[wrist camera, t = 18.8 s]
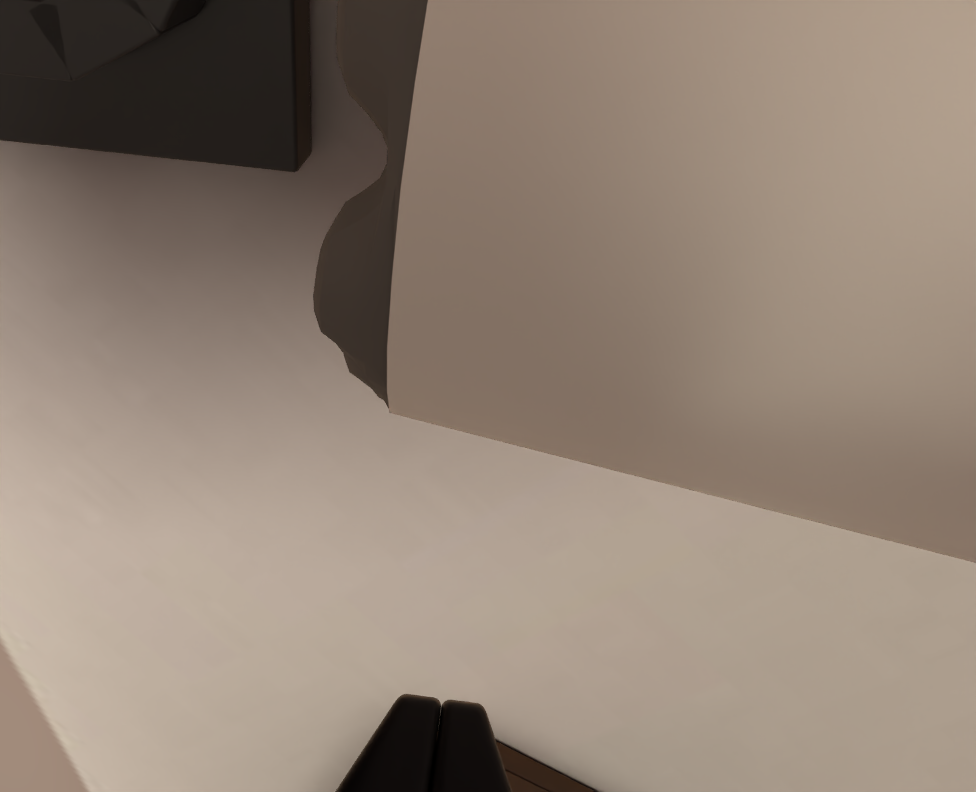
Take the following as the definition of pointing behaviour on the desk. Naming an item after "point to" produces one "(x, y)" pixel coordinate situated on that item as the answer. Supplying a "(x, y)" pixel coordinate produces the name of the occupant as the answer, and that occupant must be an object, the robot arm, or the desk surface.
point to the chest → (534, 775)
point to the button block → (160, 78)
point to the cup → (678, 243)
